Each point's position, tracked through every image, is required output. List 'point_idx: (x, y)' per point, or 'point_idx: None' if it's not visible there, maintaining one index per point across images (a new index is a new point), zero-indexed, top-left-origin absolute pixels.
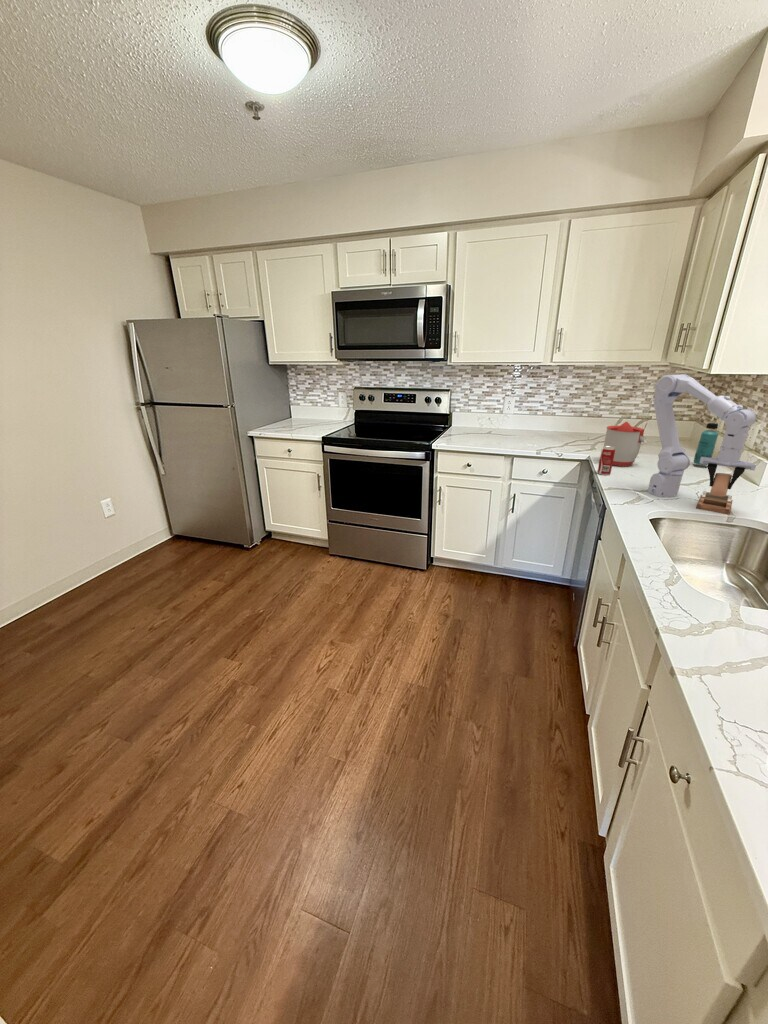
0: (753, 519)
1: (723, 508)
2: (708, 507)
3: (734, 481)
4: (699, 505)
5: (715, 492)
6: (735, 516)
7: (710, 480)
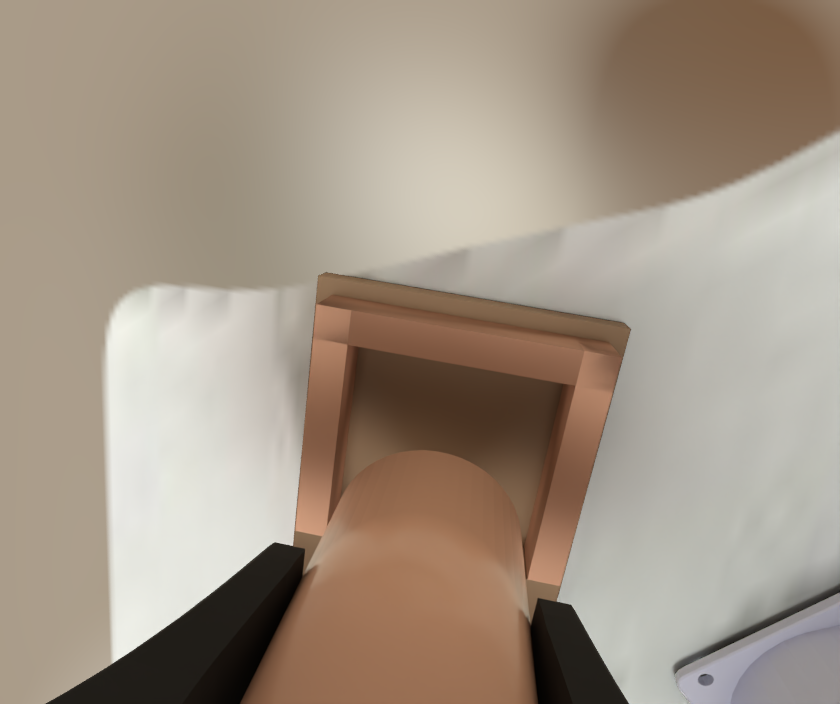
0: (144, 315)
1: (373, 312)
2: (514, 334)
3: (156, 642)
4: (605, 352)
5: (471, 490)
6: (274, 327)
7: (616, 695)
